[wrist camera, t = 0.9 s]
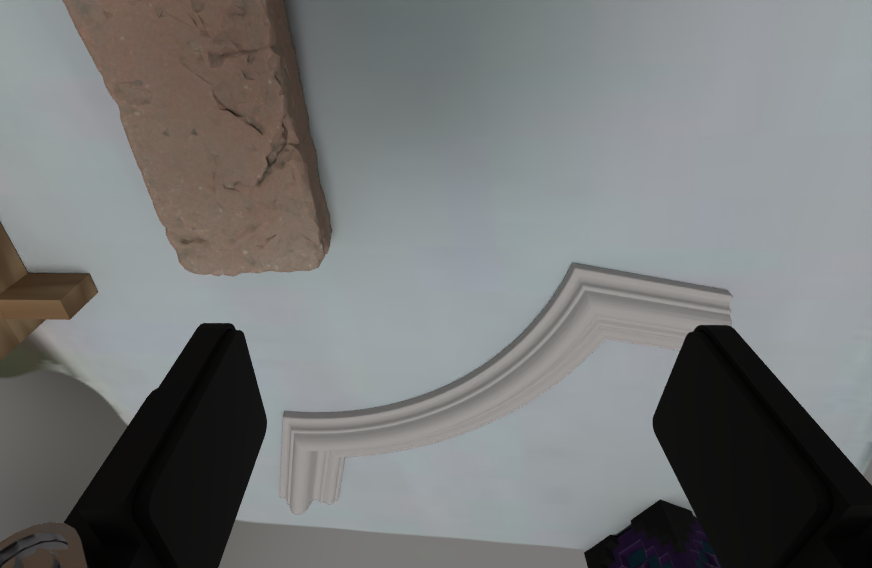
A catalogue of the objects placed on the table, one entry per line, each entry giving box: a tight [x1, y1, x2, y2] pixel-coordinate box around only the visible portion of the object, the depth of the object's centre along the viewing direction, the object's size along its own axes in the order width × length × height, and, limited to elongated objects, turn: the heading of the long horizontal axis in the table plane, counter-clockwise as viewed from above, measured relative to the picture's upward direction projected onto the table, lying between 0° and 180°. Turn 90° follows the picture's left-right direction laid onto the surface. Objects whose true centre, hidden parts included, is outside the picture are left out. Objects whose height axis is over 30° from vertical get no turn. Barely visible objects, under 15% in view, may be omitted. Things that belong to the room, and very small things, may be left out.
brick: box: [63, 0, 332, 276], centre depth 24 cm, size 17×8×5 cm, turn 3°
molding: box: [280, 263, 733, 515], centre depth 37 cm, size 42×12×3 cm, turn 123°
